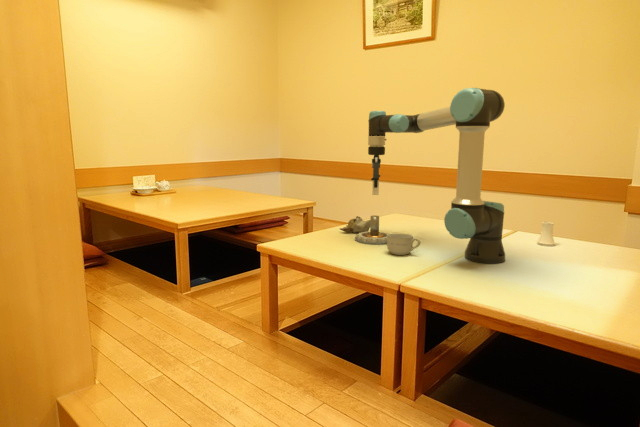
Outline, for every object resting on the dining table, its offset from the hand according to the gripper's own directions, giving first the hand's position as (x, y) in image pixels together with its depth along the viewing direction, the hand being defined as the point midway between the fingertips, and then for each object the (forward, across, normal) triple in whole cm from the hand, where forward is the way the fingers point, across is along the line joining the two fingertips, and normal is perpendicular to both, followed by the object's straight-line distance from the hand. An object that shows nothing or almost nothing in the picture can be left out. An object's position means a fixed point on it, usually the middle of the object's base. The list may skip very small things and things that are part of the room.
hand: (375, 193), depth 201 cm
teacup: (+22, -23, -12) cm, 34 cm away
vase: (+23, +3, -77) cm, 80 cm away
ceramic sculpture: (+22, +15, +9) cm, 29 cm away
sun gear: (+21, 0, 0) cm, 21 cm away
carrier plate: (+22, 0, 0) cm, 22 cm away
